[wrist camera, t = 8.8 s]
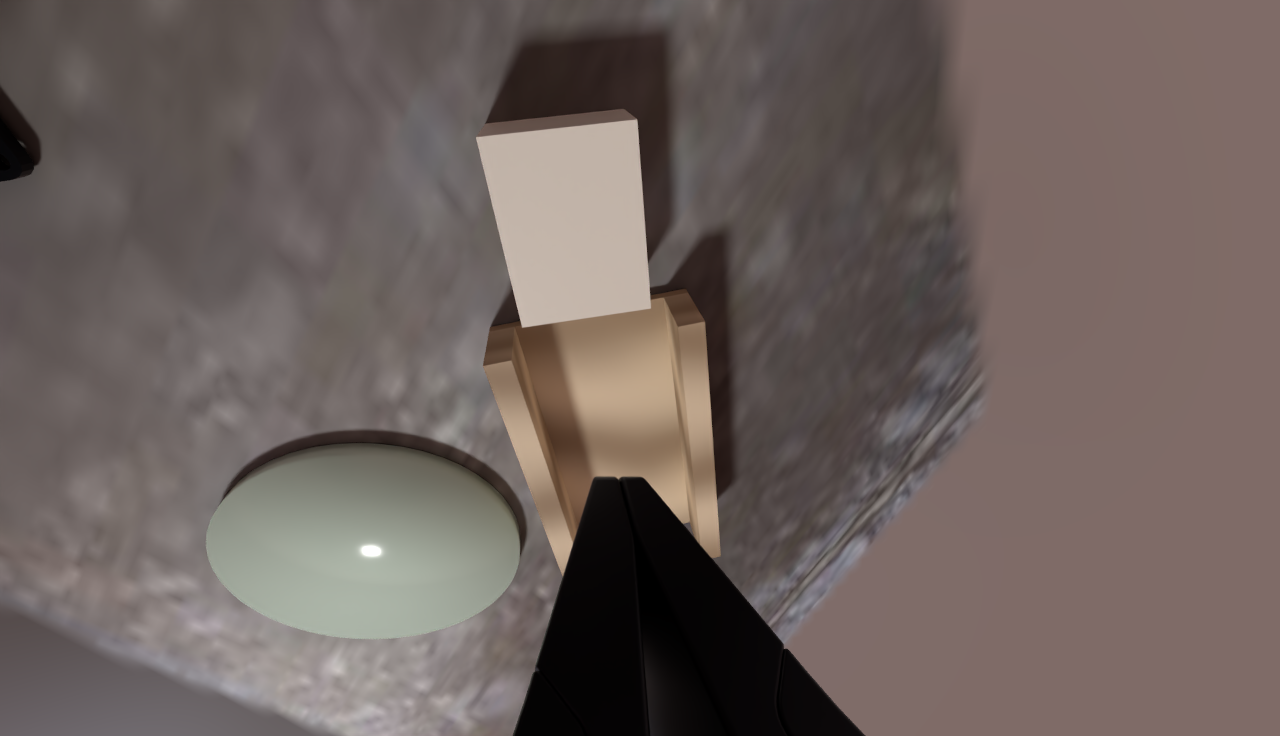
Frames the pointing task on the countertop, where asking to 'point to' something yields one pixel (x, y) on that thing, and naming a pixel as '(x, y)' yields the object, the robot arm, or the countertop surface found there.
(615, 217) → the cream block
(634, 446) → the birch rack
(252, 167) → the countertop surface
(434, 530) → the green plate
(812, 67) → the countertop surface
